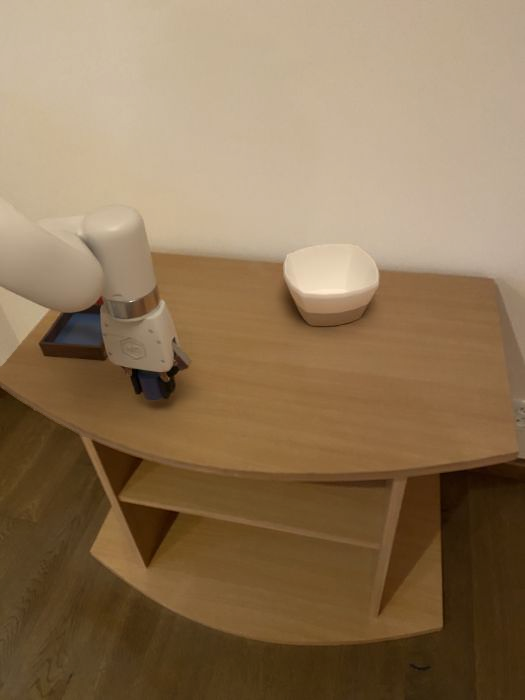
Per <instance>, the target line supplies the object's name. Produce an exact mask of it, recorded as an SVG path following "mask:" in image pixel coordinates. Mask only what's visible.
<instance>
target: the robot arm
mask: <svg viewBox="0 0 525 700" xmlns="http://www.w3.org/2000/svg"><path fill="white" fill-rule="evenodd" d="M154 268H155V267H154V263H153V258H152V253H151V248H150V245H149V238H148V235H147V229H146V225H145V221H144V218H143V216H142V215H141V213H140V212H139V211H138V210H137V209H136V208H134V207H133V206H129V205H125V204H108V205H105V206H101V207H97V208H95V209H93V210H91V211H90V212H88V213H80V214H72V215H63V216H52V217H45V218H40V219H36V220H32V219H30V217H27V216H26V215H25V214H24V213H23V212H21V211H20V210H18V209H17V208H16V207H14V206H13V205H12V204H11V203H10V202H9V201H8V200H6V199H5V198H4V197H3V196H2V195H1V194H0V287H1V288H3V289H5V290H7V291H8V292H10V293H12V294H15V295H17V296H19V297H21V298H23V299H25V300H27V301H30V302H32V303H34V304H36V305H39V306H40V307H43V308H45V309H48V310H51V311H55V312H59V313H62V312H66V313H72V312H79V311H82V310H85V309H87V308H89V307H91V306H92V305H93V304H95V303H96V302H97V300H98V299H99V298H100V296H101V297H102V300H103V303H104V304H103V305H102V306H101V308H100V317H101V329H102V335H103V340H104V344H105V348H106V349H105V351H104V355H105V356H107V357H106V358H108V360H109V361H110V362H111V363H112V364H113V365H116V366H119V367H120V368H122V369H123V371H124V374H125V375H126V376H128V377H129V378H130V382H131V385H132V387H133V391H134V394H135V395H137V396H140V395H142V394H143V392H142V389H141V385H140V382H139V378H138V374H137V373H138V370H139V369H142V370H148V371H155V372H158V373H159V375H160V377H161V379H160V381H159V385H160V389H161V393H162V397H163V398H162V399H163V400H165V401H168V400H169V398H170V396H171V394H173V393H174V392H175V390H176V381H175V376H176V375H177V374H178V373H179V372H184V371H185V370H188V369H189V368H190V366H191V364H192V360H191V359H190V357H189V356H188V355H187V354H186V353H185V352H184V350H182V349H181V346H180V345H181V344H180V340H179V336H178V332H177V329H176V326H175V322H174V320H173V317H172V315H171V312H170V310H169V308H168V306H167V304H166V302H165V300H163V299H161V296H160V291H159V287H158V286H159V285H158V283H157V276H156V272H155V269H154Z"/></svg>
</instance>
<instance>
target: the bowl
mask: <svg viewBox="0 0 525 700" xmlns="http://www.w3.org/2000/svg"><path fill="white" fill-rule="evenodd" d="M282 273H283V280H284V282H285V284H286V286H287V289H288V290H289V293H290V295H291V297H292V299H293V301H294V304H295V306H296V308H297V311H298V312H299V314H300V315H301V317H302V318H303V320H304V321H306V323H307V325H309V326H312V327H335V326H340V325H345V324H348V323H352V322H355V321H357V320H359V319H361V317H362V315H363V314H364V312H365V311H366V308H367V307H368V305H369V303H370V302H371V300H372V299H373V296H374V295H375V293H376V292H377V289H378V288H379V286H380V275H381V274H380V272H379V269H378V266H377V263H376V261H375V260H374V259H373V258H372V257H371V256H370V254H369V253H367V252H366V251H365V250H363V249H362V248H360V247H359V246H358V245H356V244H349V243H327V244H316V245H312V246H308V247H303V248H300V249H297V250H295V251H292V252H289V253H287V255H286V256H285V259H284V261H283V265H282Z"/></svg>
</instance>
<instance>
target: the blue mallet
mask: <svg viewBox="0 0 525 700" xmlns="http://www.w3.org/2000/svg"><path fill="white" fill-rule="evenodd" d="M137 374H138V378H139V382H140V385H141V389H142V395H143V397H144V398H145V399H146V400H148V401H159V400H161V399H164V398H163V397H162V393H161V389H160V385H159V381H160V379H161V377H160V375H159V373H158V372H155V371H148V370H142V369H139V370H138V373H137Z"/></svg>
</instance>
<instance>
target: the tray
mask: <svg viewBox="0 0 525 700" xmlns="http://www.w3.org/2000/svg"><path fill="white" fill-rule="evenodd" d="M102 305H103V304H99V303H97V302H96V303H95V304H93V305H92V306H91V307H89V308H87V309H85V310H82V311H79V312H72V313H66V312H60V314H59V315H58V317H57V318H56V319H55V321H53V323H52V325H51V326H50V327H49V329H48V330H47V332H45V334H44V335H43V337H42V338H41V339H40V341H39V342H38V345H39V348H40V350H41V352H42V354H43V356H44V357H54V358H55V357H57V358H66V359H67V358H68V359H80V360H81V359H83V360H94V361H106V359H107V358H108V357H107V356H105V355H104V351H105V349H106V348H105V344H104V340H103V335H102V329H101V317H100V308H101V306H102Z"/></svg>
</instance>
